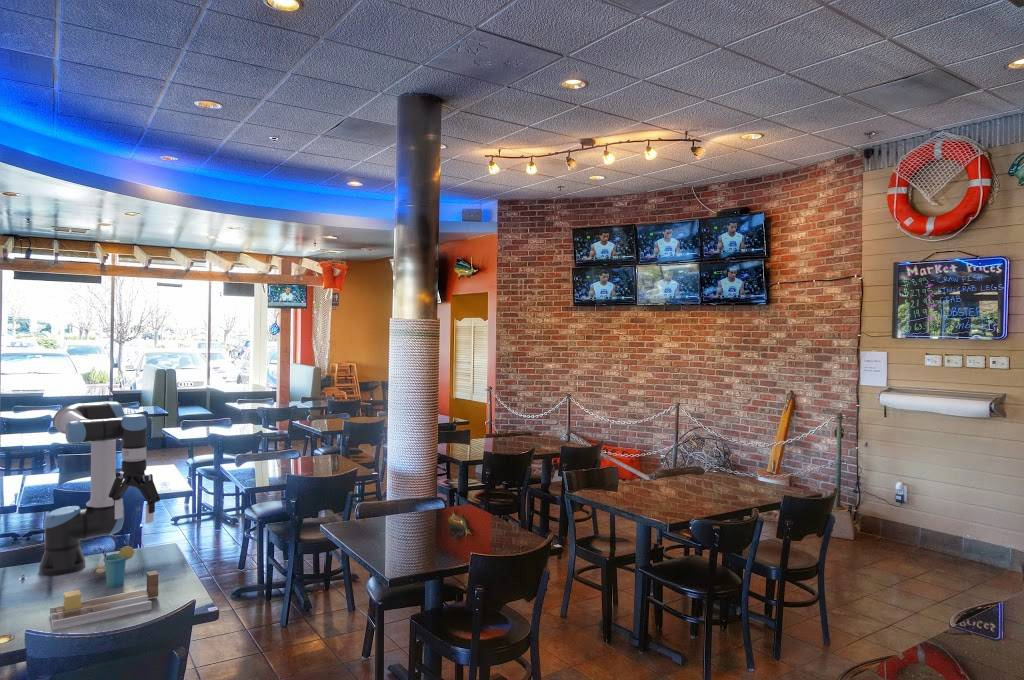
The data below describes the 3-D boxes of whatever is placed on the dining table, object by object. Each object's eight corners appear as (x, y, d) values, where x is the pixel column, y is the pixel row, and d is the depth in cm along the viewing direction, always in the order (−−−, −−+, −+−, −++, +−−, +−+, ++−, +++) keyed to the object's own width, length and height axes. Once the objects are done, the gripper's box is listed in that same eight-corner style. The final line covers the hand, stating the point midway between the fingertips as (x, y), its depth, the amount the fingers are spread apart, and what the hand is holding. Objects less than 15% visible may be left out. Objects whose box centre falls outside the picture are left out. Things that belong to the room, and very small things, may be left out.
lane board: (50, 615, 231) (50, 607, 231) (144, 596, 248) (144, 588, 248) (53, 630, 221) (53, 621, 221) (151, 609, 238) (151, 601, 238)
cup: (92, 593, 250) (92, 552, 249) (88, 586, 256) (88, 546, 255) (135, 584, 258) (136, 544, 258) (131, 578, 264) (131, 539, 264)
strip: (55, 612, 231) (55, 588, 231) (156, 592, 249) (156, 570, 249) (56, 617, 228) (56, 592, 227) (158, 596, 246) (158, 573, 245)
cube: (63, 606, 232) (63, 592, 232) (79, 602, 235) (79, 589, 235) (65, 610, 229) (65, 597, 229) (81, 607, 231) (81, 594, 231)
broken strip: (57, 619, 226) (57, 614, 226) (108, 608, 235) (108, 604, 235) (58, 623, 223) (58, 618, 223) (110, 612, 232) (110, 608, 231)
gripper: (97, 458, 242) (97, 519, 243) (154, 464, 234) (154, 527, 235) (115, 454, 249) (115, 513, 250) (171, 460, 241) (171, 521, 242)
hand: (134, 520), depth 242 cm, fingers open, 13 cm apart
